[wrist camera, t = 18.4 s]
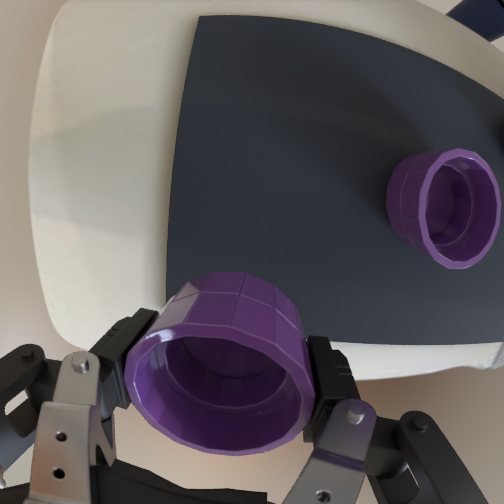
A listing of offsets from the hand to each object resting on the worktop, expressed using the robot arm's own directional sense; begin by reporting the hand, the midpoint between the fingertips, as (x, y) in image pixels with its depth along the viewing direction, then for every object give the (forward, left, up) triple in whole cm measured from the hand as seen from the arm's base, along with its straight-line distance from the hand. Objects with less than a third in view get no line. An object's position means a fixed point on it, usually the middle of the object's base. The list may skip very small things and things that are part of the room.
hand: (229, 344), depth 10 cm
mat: (-12, +4, -7) cm, 14 cm away
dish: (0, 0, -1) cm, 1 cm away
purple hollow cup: (-12, +4, -6) cm, 14 cm away
